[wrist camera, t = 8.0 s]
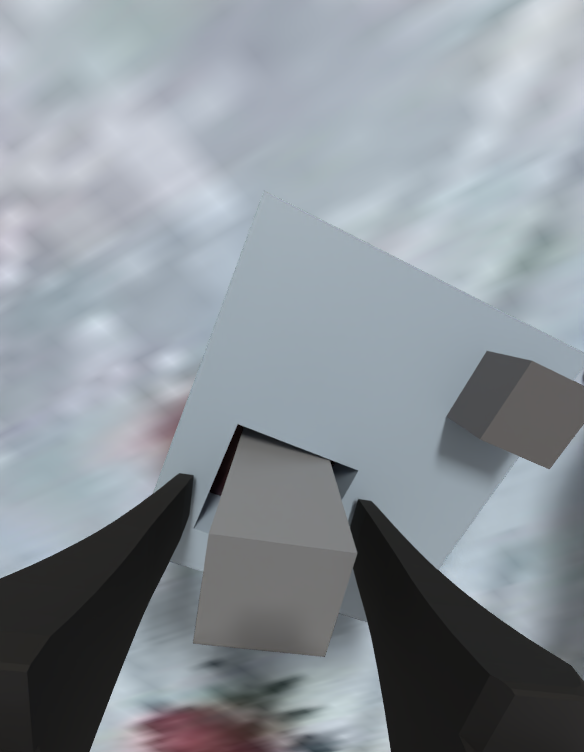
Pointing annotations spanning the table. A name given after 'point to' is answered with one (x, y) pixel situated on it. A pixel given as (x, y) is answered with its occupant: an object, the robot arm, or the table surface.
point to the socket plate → (371, 384)
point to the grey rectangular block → (275, 552)
